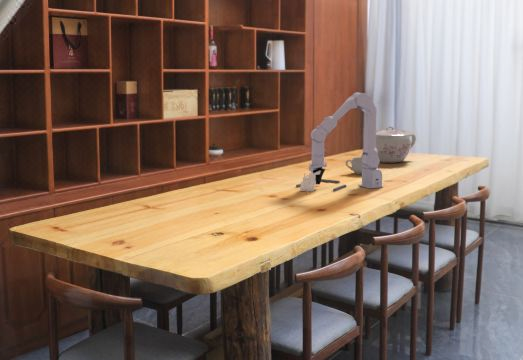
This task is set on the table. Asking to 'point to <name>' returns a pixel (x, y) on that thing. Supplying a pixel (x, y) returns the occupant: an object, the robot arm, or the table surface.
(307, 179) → the white figurine
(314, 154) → the robot arm
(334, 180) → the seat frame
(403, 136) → the chamber pot
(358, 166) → the teacup
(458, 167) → the table surface
